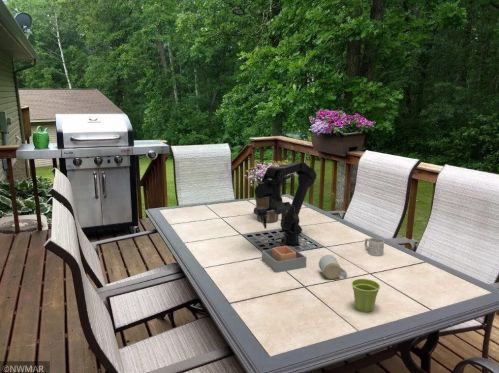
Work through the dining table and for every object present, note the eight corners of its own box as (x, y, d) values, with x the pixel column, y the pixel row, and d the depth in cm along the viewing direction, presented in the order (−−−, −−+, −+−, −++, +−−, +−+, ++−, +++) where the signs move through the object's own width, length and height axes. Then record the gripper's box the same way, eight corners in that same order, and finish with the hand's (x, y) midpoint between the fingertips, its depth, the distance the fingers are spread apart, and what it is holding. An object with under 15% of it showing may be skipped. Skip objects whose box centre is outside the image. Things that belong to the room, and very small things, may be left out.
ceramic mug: (323, 280, 156) (324, 262, 154) (318, 271, 164) (319, 254, 162) (349, 280, 157) (351, 261, 155) (343, 271, 165) (344, 254, 163)
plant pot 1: (286, 219, 237) (286, 192, 234) (273, 226, 224) (273, 198, 221) (262, 215, 246) (263, 189, 242) (249, 221, 233) (248, 194, 229)
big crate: (290, 256, 181) (290, 246, 180) (306, 268, 168) (306, 257, 167) (262, 261, 176) (262, 250, 175) (276, 273, 163) (276, 262, 162)
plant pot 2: (346, 301, 140) (347, 278, 138) (372, 300, 140) (373, 277, 139) (355, 315, 130) (356, 291, 129) (383, 314, 131) (385, 290, 129)
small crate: (286, 258, 178) (286, 245, 176) (295, 265, 169) (296, 252, 168) (271, 260, 175) (272, 247, 174) (281, 268, 167) (281, 255, 166)
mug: (386, 254, 182) (387, 241, 181) (376, 257, 179) (377, 243, 178) (369, 247, 191) (370, 234, 189) (359, 250, 187) (360, 237, 186)
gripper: (263, 200, 170) (263, 235, 173) (301, 196, 177) (300, 229, 180) (253, 195, 180) (253, 228, 183) (289, 191, 187) (288, 222, 190)
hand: (274, 227), depth 184 cm, fingers open, 9 cm apart
